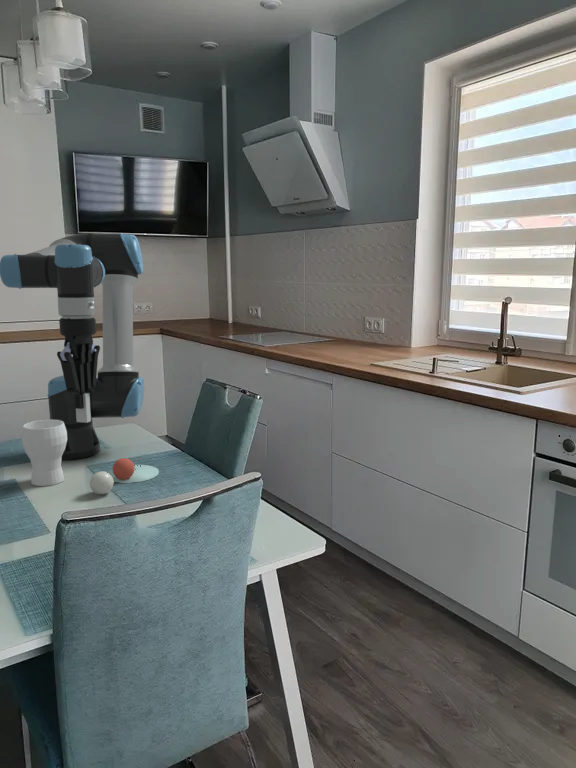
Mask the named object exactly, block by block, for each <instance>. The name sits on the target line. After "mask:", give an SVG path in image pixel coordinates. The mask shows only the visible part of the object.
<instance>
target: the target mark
mask: <svg viewBox="0 0 576 768" xmlns="http://www.w3.org/2000/svg"><path fill="white" fill-rule="evenodd" d="M134 465H135V466H134V467H135V469H136V470H134V473H133V475H132V476H131V477H130V478H128V479H125V480H121V479H118V478H117V477H115V475H114V474H113V473H112V472H110V471H112V470H113V468H111V469H109V470H108V471H109V472H110V473H109V472H108V471H107V472H108V473H109V474H111V476H112V477H113V481H114V482H121V483H120V484H133V483H132V482H137V483H142V481H143V482H146V480H147V481H149V480H152V479H154V478H156V477H158V475H159V473H160V470H159V469H158V468H157V467H155V466H152V465H148V464H147V465H146V464H134ZM137 465H138V466H137ZM140 465H141V467H140Z"/></svg>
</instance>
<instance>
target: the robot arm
mask: <svg viewBox="0 0 576 768" xmlns="http://www.w3.org/2000/svg"><path fill="white" fill-rule="evenodd" d="M142 254H143V253H142V251H141V246H140V242H139V240H138V238H137V236H136V235H134V234H129V233H122V232H119V233H89V232H86V233H85V232H84V233H82V232H81V233H76V234H72V235H67V236H65V237H61V238H58V239H56V240H54V241H52V242H51V243H50V244H49V245H48V246H47V247H44V248H41V249H38V250H36V251H33V252H30V253H26V254H17V253H14V254H5V255H3V256H2V257H1V259H0V279H1V280H0V281H1V282H2V283H3V285H4V286H5V287H7V288H12V289H13V288H14V289H16V288H17V289H20V290H21V289H46V288H47V289H56V290H57V309H58V313H57V314H58V316H60V317H61V318H59V322H58V324H59V334H60V335H61V336H64V344H63V347H64V348H63V349H62V351H57V352H56V355H57V358H58V360H59V362H60V365H61V369H62V370H61V371H62V374H63V375H59V376H56V377H54V378H52V379H50V380H49V381H48V383H47V399H48V410H49V420H60V421H63V422H64V425H65V428H66V431H67V443H66V447H65V450H64V452H63V455H62V459H61V461H62V460H63V461H64V460H66V461H68V460H69V461H70V460H78V459H85V458H89V457H92V456H94V455H97V454H98V453H99V452H100V451H101V442H100V440H99V437H98V435H97V432H96V429H95V428H94V424H93V419H94V418H97V419H99V418H100V419H102V418H103V419H105V418H110V419H111V418H122V419H123V418H133V417H137V416H138V415H139V414H140V412H141V410H142V407H143V402H144V396H145V379H144V377H142V376H139V370H137V368H136V367H135V366H134V308H133V307H134V303H133V301H134V300H133V299H134V298H133V297H134V296H133V294H134V292H133V291H134V289H133V288H134V287H133V286H134V285H135V284H136V283H137V282H138V280H139V275H142V274H143V273H144V262H143V261H144V260H143V255H142ZM100 284H101V285H102V366H101V368H100V369H99V370H98V361H99V354H100V351H101V346H100V345H99V344H98V345H96V344H95V343H94V338H93V335H95V334H97V322H96V318H95V317H93V316H95V314H96V309H95V308H96V307H95V306H96V304H95V292H94V288H96V287H98V286H99V285H100Z"/></svg>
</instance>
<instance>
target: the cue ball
mask: <svg viewBox="0 0 576 768" xmlns="http://www.w3.org/2000/svg"><path fill="white" fill-rule="evenodd" d="M107 472H108V471H104V470H103V471H102V470H101V471H97V472H96V473H93V475H92V476H91V477H90V480H89V487H90V490H91V491H92V492H93V493H95V494H97V495H106V494H107V493H110V491H112V489H113V487H114V481H113V477H112V476H111V475H110V474H109V473H107Z"/></svg>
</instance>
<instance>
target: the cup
mask: <svg viewBox="0 0 576 768" xmlns="http://www.w3.org/2000/svg"><path fill="white" fill-rule="evenodd" d="M21 430H22V431H21V434H20V437H21V445H22V447H23V450H24V452H25V454H26V455H27V457H28V459H29V460H30V464H31V468H32V471H31V481H30V482H31V485H33V486H37V487H46V486H47V487H49V486H54V485H57V484H60V483H61V482H63V481H65V476H64V472H63V468H62V460H61V459H62V455H63V452H64V450H65V447H66V443H67V431H66V428H65V425H64V422H63V421H60V420H50V419H40V420H33V421H31V422H30V421H29V422H27V423H25V424H23V426H22V429H21Z"/></svg>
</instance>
